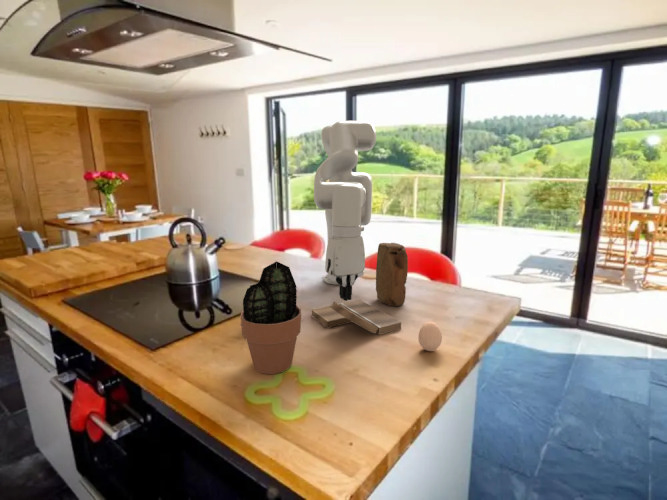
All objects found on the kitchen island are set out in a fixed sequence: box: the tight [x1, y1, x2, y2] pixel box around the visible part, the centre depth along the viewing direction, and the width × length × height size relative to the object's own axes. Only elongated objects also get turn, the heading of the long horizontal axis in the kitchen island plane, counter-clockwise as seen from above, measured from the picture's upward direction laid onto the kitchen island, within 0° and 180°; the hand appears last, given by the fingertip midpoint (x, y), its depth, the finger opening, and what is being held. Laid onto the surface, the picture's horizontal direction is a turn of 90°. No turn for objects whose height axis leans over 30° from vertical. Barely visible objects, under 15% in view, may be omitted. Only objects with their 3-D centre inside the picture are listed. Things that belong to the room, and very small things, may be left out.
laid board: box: [339, 299, 402, 335], centre depth 118 cm, size 21×8×2 cm, turn 30°
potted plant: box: [240, 261, 302, 375], centre depth 88 cm, size 14×14×25 cm
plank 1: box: [310, 303, 353, 329], centre depth 117 cm, size 10×10×2 cm
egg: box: [417, 321, 443, 352], centre depth 98 cm, size 6×6×8 cm
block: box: [375, 242, 409, 307], centre depth 129 cm, size 11×8×20 cm
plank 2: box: [330, 301, 378, 335], centre depth 108 cm, size 10×10×2 cm
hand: (345, 298), depth 105 cm, fingers closed
